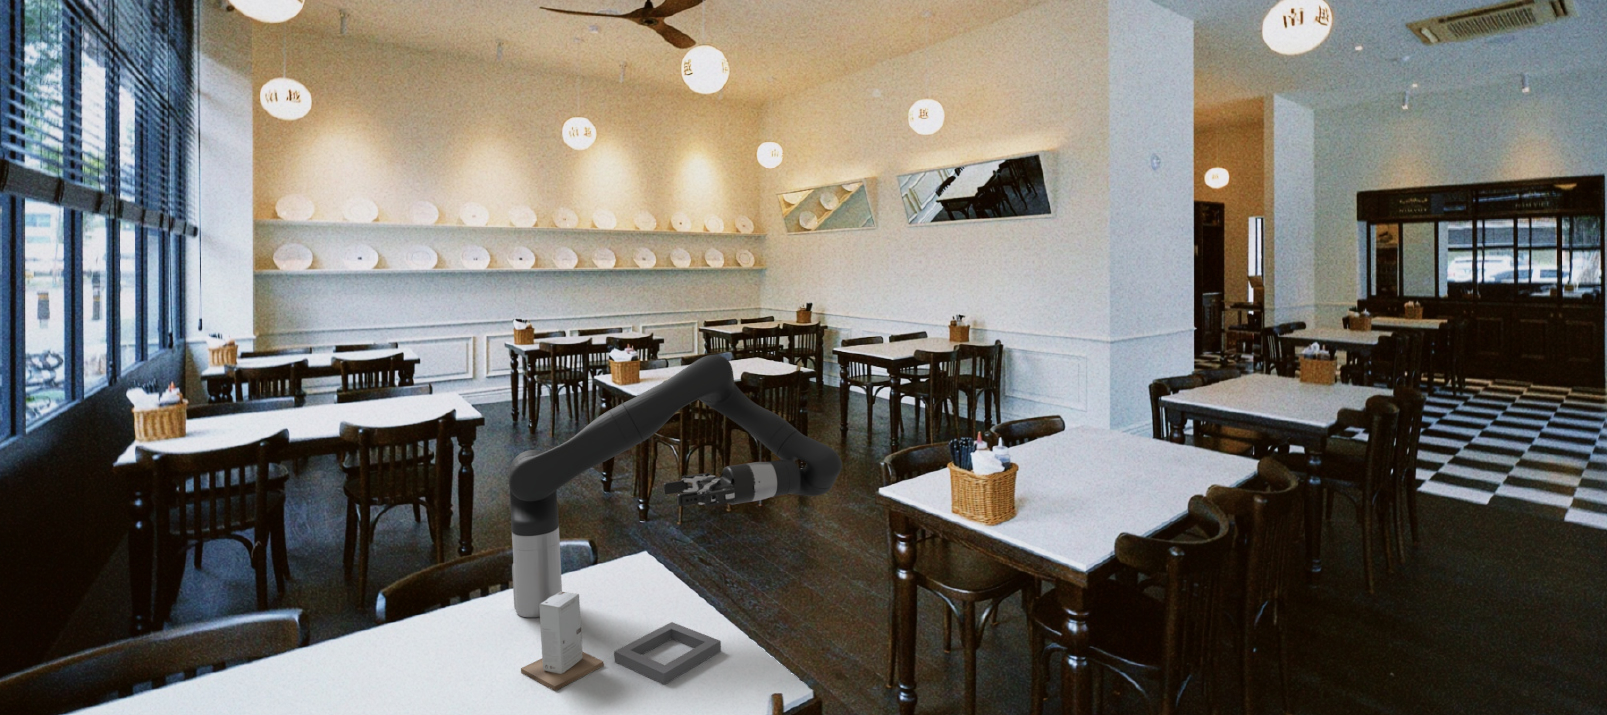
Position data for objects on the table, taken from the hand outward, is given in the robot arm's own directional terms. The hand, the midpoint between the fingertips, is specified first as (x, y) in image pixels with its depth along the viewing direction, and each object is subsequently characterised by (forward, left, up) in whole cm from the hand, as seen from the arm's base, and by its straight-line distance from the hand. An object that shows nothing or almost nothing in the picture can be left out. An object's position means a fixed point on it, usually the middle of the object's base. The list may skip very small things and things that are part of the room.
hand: (670, 494), depth 140 cm
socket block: (+5, -6, -28) cm, 29 cm away
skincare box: (-7, -20, -27) cm, 35 cm away
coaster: (-7, -20, -28) cm, 35 cm away
